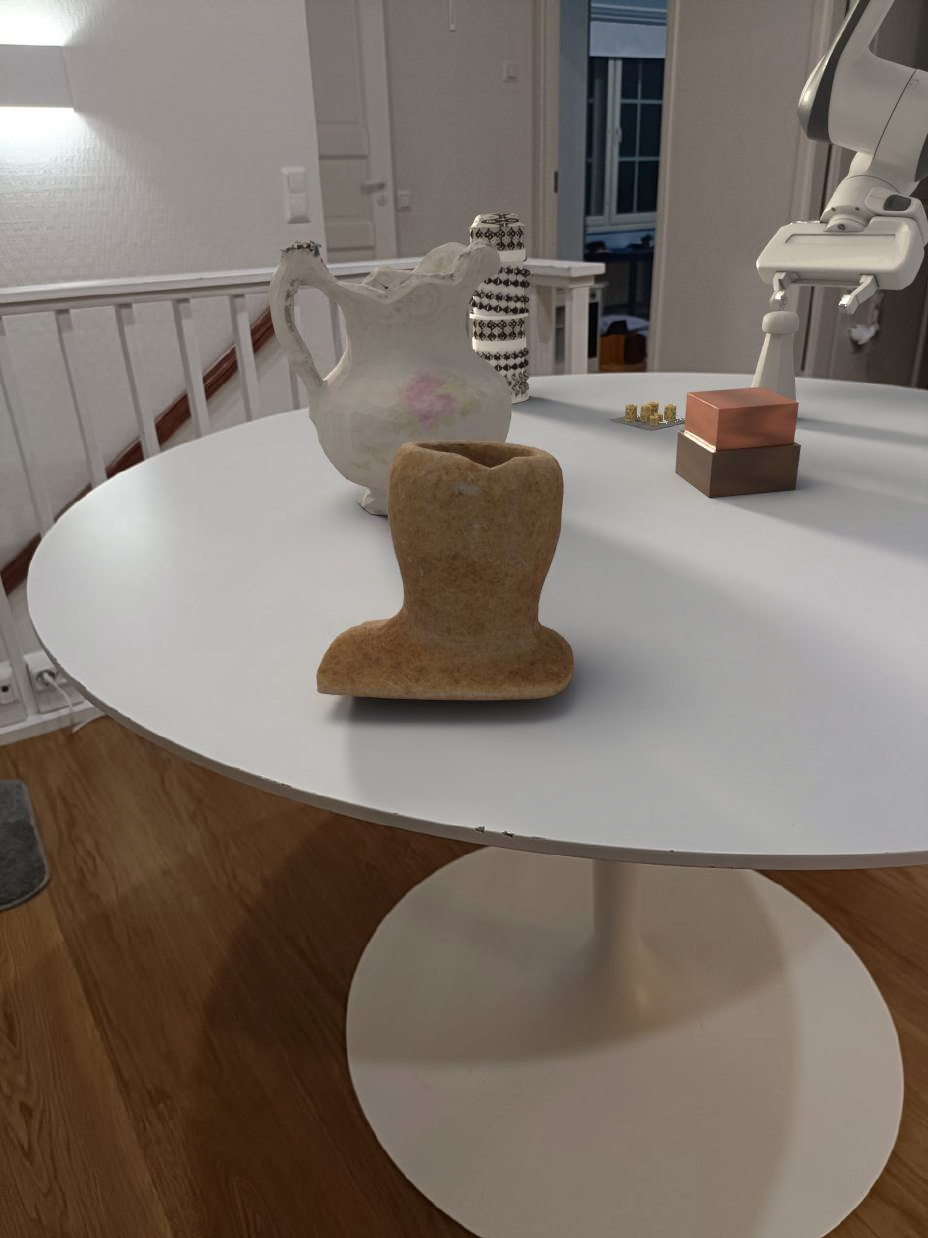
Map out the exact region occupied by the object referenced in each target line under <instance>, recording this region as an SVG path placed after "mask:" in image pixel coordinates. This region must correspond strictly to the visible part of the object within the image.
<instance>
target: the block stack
mask: <svg viewBox="0 0 928 1238" xmlns="http://www.w3.org/2000/svg"><path fill="white" fill-rule="evenodd" d="M685 401H686V403H685V415H684V417H685V423H684V429H683V430H682V429H681V430H677V439H676V453H675V454H676V456H675V469H674V470H675V471H674V472H675V473H676V474H677V475H678V476H679V477H681V478H682V479H683V480H685V481H686V482H688V483H689V484H690V485H691V486H693V487H694V488H695V489H697V490H698V491H699V492H701V493H702V494H703V495H705V496H706V497H707V498H709V499H710V498H718V497H719V498H720V497H721V498H722V497H731V496H741V495H752V494H764V493H775V492H786V491H796V488H797V480H798V472H799V465H800V457H801V451H802V445H801V444H800V443H797V442H796V441H795V437H796V431H797V422H798V421H797V420H798V413H799V406H800V405H799V404H800V402H798V401H797V400H796V401H793V400H791V399H788V398H786V397H784V396H781V395H779V394H776V393H774V392H772V391H769V390H767V389H764V388H762V387H753V388H751V387H741V388H727V389H714V390H701V391H689V392H686V400H685Z"/></svg>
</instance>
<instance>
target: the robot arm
mask: <svg viewBox="0 0 928 1238" xmlns="http://www.w3.org/2000/svg"><path fill="white" fill-rule="evenodd" d="M894 2H895V0H853V2H852V3H851V5H850V7H849V9H848V11H847V13H846V15H845V16H844V19H843V21H842V23H841V25H840V26H839V28H838V30H837V32H836V33H835V35H834V38H833V40H832V41H831V43H830V45H829V48H828V49H827V51H826V52H825V54H824V56H823V57H822V58H820V60H819V62H818V63H817V65H816V66H815V67H814V69H813V71H811V73H810V75H809V77H808V78H807V81H806V83H805V84H804V86H803V88H802V91H801V94H800V97H799V100H798V106H797V110H796V115H797V118H798V121H799V124H800V127H801V128H802V130H803V132H804V134H805V136H806V137H807V139H808V140H811V141H814V142H819V143H824V144H827V145H833V146H835V145H837V146H839V147H841V148H845V149H848V150H851V151H854V152H856V154H855V155H854V157H853V159H852V161H851V163H850V166H849V169H848V174H847V175H846V176H845V177H844V178H843V179H842V180H841V181H840V183H839V184H838V186H837V187H836V189H835V191H834V192H833V194H832V196H831V198H830V199H829V201H828V203H827V205H826V207H825V208H824V210H823V212H822V214H821V216H820V218H819V219H809V220H803V219H796V220H795V219H794V220H793V221H792V222H791V223H788V224H785V225H782V226H781V227H780V228H779V229H778V230H777V232H776V233H775V234H774V235H773V236H772V238H771V239H770V240H769V242H768V243H767V244H766V246H765V247H764V249H763V250H762V251H761V253H760V255H759V256H758V258H757V259H756V261H755V262H756V263H755V265H756V266H755V267H756V270H757V272H758V275H759V277H760V279H761V280H762V282H763V283H764V284H767V285H773V293H772V295H771V296H770V299H769V301H768V302H769V303H768V304H769V306H770V308H771V309H772V310H779V311H783V310H785V308H786V305H788V303H789V301H790V300H789V297H788V296H787V292H786V291H787V290H788V289H789V288H790V286H803V287H823V288H824V287H825V288H826V287H829V288H850V289H854V291H852V292H851V293H850V294H849V293H844V294H843V295H842V297H841V300H840V301H839V303H838V304H837V305H838V306H837V307H838V310H839V313H840V314H841V315H853V314H854V313H855V312H856V310H857V308H858V307H859V305H861V304H863V302H865V301H867V300H868V299H870V298H871V297H873V296H874V295H875V293H876V291H877V290H892V291H893V290H894V291H901V290H903V289H905V288H907V287H908V286H910V285H911V284H912V283H913V282H914V280H915V279H916V276H917V275H918V272H919V270H920V268H921V265H922V263H923V261H924V257H925V249H924V248H925V246H927V244H928V218H927V215H926V211H925V208H924V205H923V204H922V201H921V200H920V199H919V198H916V197H912V196H911V194H913V192H915V190H916V189H917V187H918V185H919V183H920V181H922V180H924V179H925V178H927V177H928V71H925V70H923V69H919V68H917V69H916V68H913V67H910V66H907V65H903V64H900V63H898V62H894V61H890V60H887V59H884V58H881V57H879V56H877V55H875V54H873V52H872V51H871V50H870V48H869V47H870V44H871V42H872V41H873V40H874V37H875V36H876V33H877V31H878V30H879V28H880V27H881V25H882V23H883V22H884V20H885V18H886V16H887V14H888V13H889V11H890V9H891V7H892V6H893V4H894Z"/></svg>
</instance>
